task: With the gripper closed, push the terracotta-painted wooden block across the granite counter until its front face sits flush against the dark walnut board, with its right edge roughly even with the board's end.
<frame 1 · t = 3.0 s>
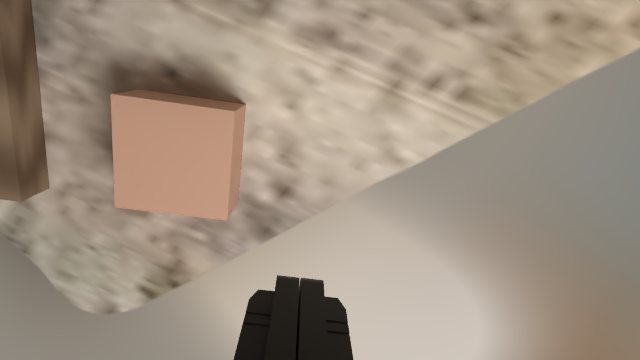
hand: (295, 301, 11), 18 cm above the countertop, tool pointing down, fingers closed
terracotta block: (193, 146, 29), on the countertop
walnut board: (15, 58, 26), on the countertop
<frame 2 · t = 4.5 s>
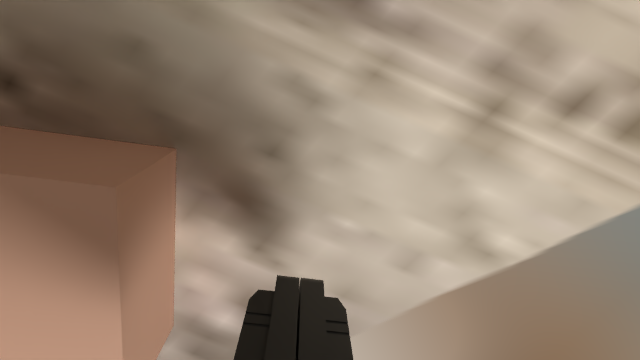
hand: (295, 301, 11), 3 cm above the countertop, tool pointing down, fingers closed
terracotta block: (75, 230, 14), on the countertop
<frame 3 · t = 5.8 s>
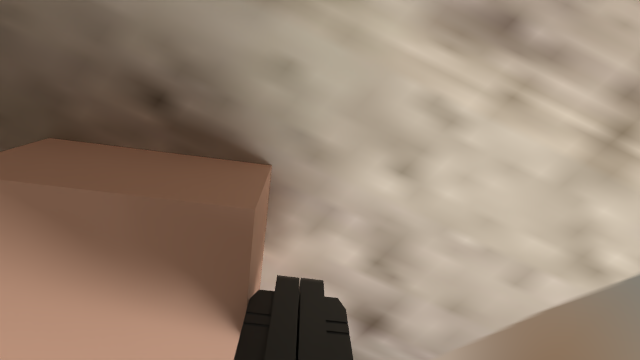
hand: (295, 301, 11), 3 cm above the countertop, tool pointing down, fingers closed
terracotta block: (166, 244, 14), on the countertop
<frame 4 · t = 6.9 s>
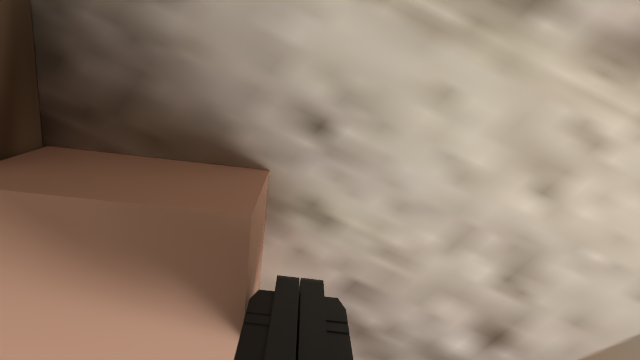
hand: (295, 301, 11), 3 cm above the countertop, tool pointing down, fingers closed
terracotta block: (165, 250, 15), on the countertop
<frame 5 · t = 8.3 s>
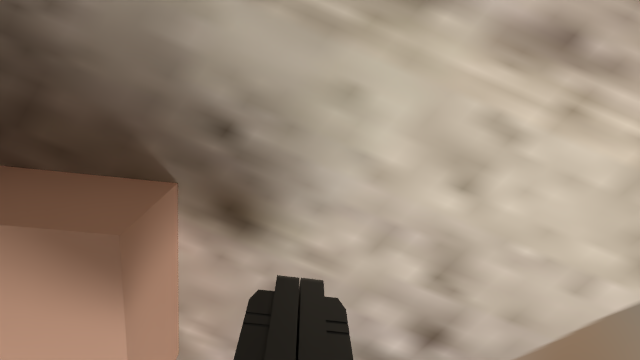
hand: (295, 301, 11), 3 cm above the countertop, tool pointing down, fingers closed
terracotta block: (80, 263, 14), on the countertop
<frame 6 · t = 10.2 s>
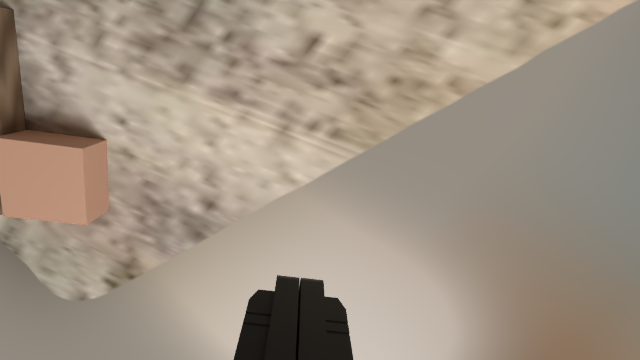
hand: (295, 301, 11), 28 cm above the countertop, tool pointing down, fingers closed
terracotta block: (71, 170, 39), on the countertop
walnut board: (9, 113, 36), on the countertop
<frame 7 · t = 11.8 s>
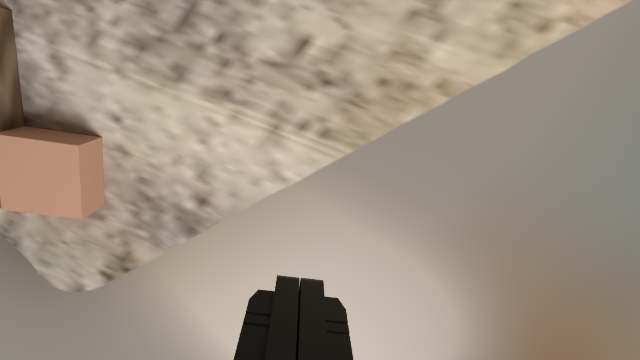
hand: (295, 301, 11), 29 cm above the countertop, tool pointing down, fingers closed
terracotta block: (68, 166, 40), on the countertop
walnut board: (7, 110, 37), on the countertop
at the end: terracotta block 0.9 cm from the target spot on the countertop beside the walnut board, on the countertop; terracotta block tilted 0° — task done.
